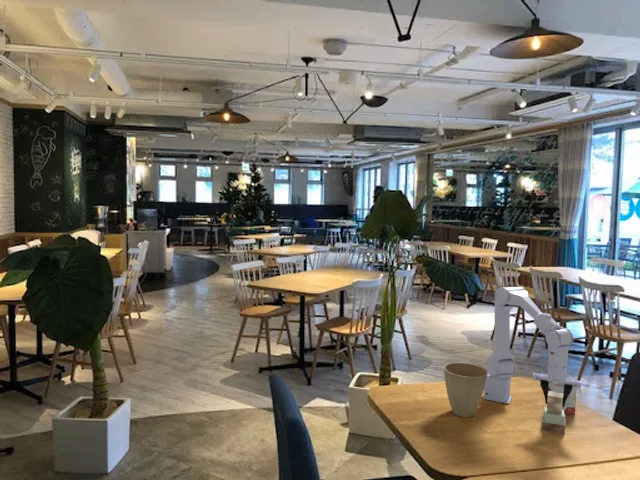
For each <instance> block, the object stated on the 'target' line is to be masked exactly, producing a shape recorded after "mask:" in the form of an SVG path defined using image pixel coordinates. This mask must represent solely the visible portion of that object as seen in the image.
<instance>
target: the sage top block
mask: <svg viewBox="0 0 640 480" xmlns="http://www.w3.org/2000/svg"><path fill="white" fill-rule="evenodd" d="M543 414H544V421H545V423H551V424H557V425H563V426H565V427H566V423H565V419H566V414H564V410H562V413H560V412H555V411H550V410H547V406H544V408H543Z"/></svg>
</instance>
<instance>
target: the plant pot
mask: <svg viewBox="0 0 640 480" xmlns="http://www.w3.org/2000/svg"><path fill="white" fill-rule="evenodd" d="M443 372H444V383H445V387H446V388H445V389H446V394H447V398H448V402H449V406H450V408H451V412H452V413H453V414H454V415H456V416H458V417H461V418H462V417H463V418H471V417H473V416H474V415H475V413H476V410H477V408H478V406H479V404H480V402H481V399H482V396H483V394H484V387H485V383H486V379H487V374H489V373H488V371H487V369H485V368H484V367H482V366H479V365H476V364H472V363H466V362H451V363H447V364H445V365H444V366H443Z"/></svg>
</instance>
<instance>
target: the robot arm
mask: <svg viewBox="0 0 640 480" xmlns="http://www.w3.org/2000/svg"><path fill="white" fill-rule="evenodd" d="M516 306H517V307H521V309H522V310H524V311H525V313H527V314H528V315H529V316H530V317H531V318H532V319H533V324H534V326H536V328H538V329H539V330H540V332H541V333H542V334H543V335H544V336H545V341H546V343H547V349H548V362H547V363H548V365H547V373H538V372H533V374H532V381H539V385H540V388H541V390H542V392H543V395H544V401H545V402H544V403H545V404H546V405H547V399H548V389H549V382H551V383H556V384H562V385H564V394H563V403H562V407H564V406H565V402H566V400H567V398H568V396H569V394H570V393H571V391H572V387H577V389H581V388H582V387H581V386H582V381H581V380H579V379H573V378H569V377H567V374H568V373H567V371H568V362H569V361H568V359H569V358H568V357H569V346H571V345H572V344H573V343H574V335H573V333H572V331H570V329H568V328H567V327H563V326H561V325H560V324H558V323H557V321H555V319H554V318H553V317H552V315H551V314H550V313H547V312H542V311H541V310H540V308H539V307H538V306H537V304H535V302H534V301H533V300H532V299H531V298H530V295H529V291H527V290H526V289H525V287H524V286H520V285H519V286H509V287H505V286H503V287H499V288H498V289H496V291H495V292H494V350H493V351H492V352H491V353H489V355H488V357H487V358H488V359H487V362H486V370H487V372H488V374H487V379H486V383H485V387H484V390H483V393H482V396H483V397H482V399H483V400H488V401H492V402H497V403H502V404H506V405H509V404H510V402H511V401H512V398H513V396H512V395H510V394H511V383H512V381H511V380H512V377H513V375H514V374H515V373H516V372H517V364H516V361H515V355H514V354H513V353H512V352H510V344H511V343H510V337H511V336H510V325H511V324H510V320H511V319H510V317H511V316H510V315H511V313H510V312H511V310H512V309H513V308H515V307H516Z"/></svg>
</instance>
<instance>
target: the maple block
mask: <svg viewBox="0 0 640 480" xmlns="http://www.w3.org/2000/svg"><path fill="white" fill-rule="evenodd" d="M562 403H563V393H557V392H552V391H549V392H548V399H547V404H546V407H547V410H550V411H555V412H560V413H562V408H563V407H562Z"/></svg>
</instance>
